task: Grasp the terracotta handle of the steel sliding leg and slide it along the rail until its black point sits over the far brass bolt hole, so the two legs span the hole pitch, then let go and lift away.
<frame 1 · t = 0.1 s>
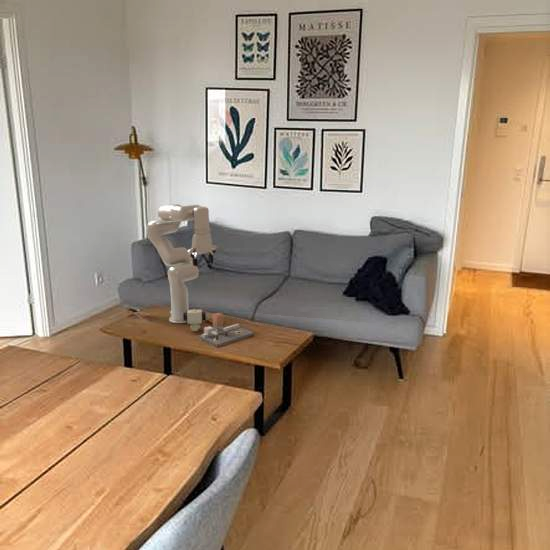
hand: (203, 264, 279), 37 cm above the table, tool pointing down, fingers open, 9 cm apart
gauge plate: (226, 336, 281), on the table
sliding leg: (221, 324, 279), point 7 cm above the table, slide at 0.0 cm
pneumatic valve: (195, 330, 291), on the table
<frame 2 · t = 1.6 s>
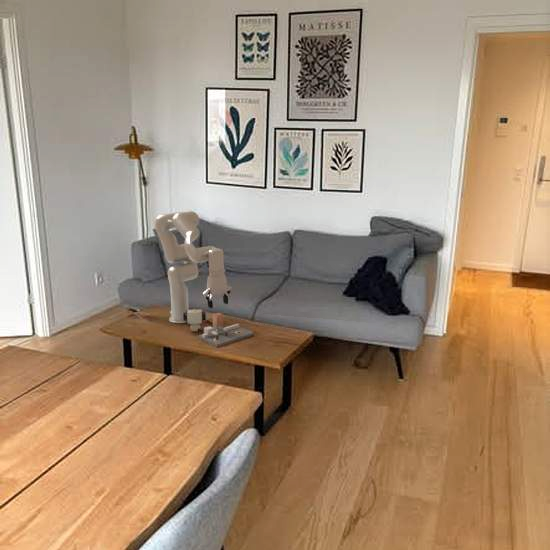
hand: (218, 305, 278), 17 cm above the table, tool pointing down, fingers open, 9 cm apart
nothing on the table moved.
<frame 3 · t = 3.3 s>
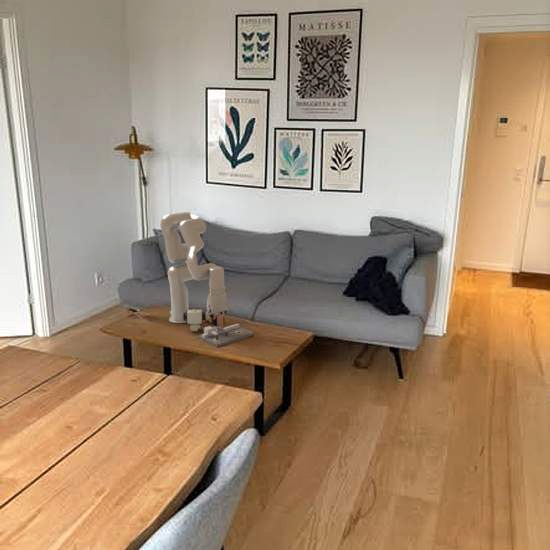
hand: (218, 324, 281), 6 cm above the table, tool pointing down, fingers closed on sliding leg, 4 cm apart
sliding leg: (221, 324, 279), point 7 cm above the table, slide at 0.0 cm, touching gripper
everything else where it was.
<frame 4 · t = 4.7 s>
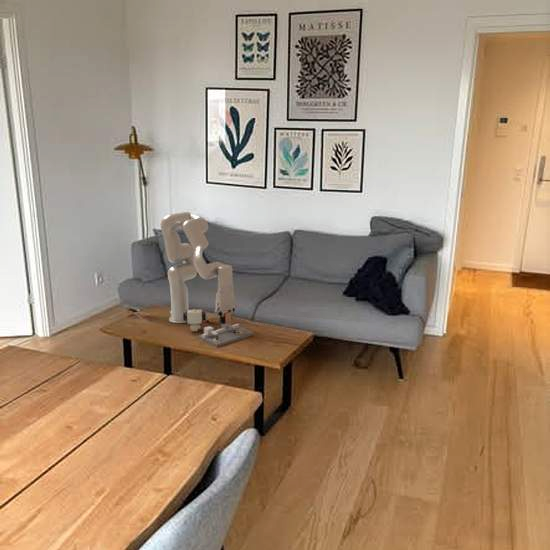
hand: (226, 321, 285), 6 cm above the table, tool pointing down, fingers closed on sliding leg, 4 cm apart
sliding leg: (229, 322, 282), point 7 cm above the table, slide at 5.4 cm, touching gripper
everything else where it was.
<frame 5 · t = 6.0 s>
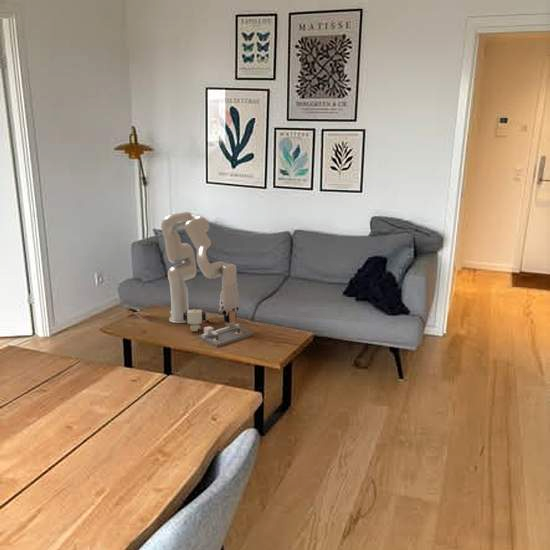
hand: (230, 320, 286), 6 cm above the table, tool pointing down, fingers closed on sliding leg, 4 cm apart
sliding leg: (233, 320, 284), point 7 cm above the table, slide at 8.0 cm, touching gripper
everything else where it was.
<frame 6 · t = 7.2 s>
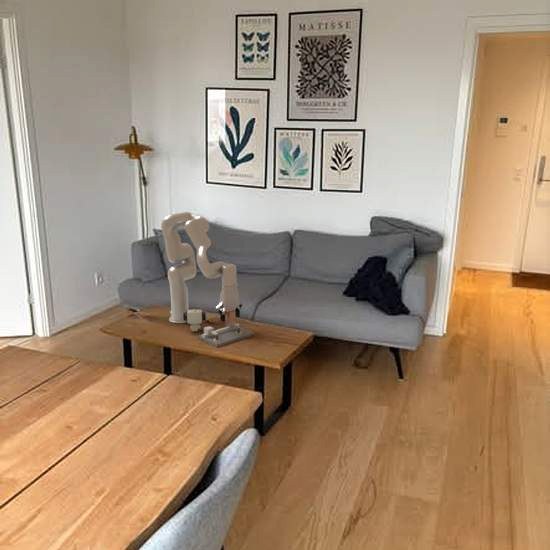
hand: (230, 318, 286), 7 cm above the table, tool pointing down, fingers open, 9 cm apart
sliding leg: (233, 320, 284), point 7 cm above the table, slide at 8.0 cm
everything else where it was.
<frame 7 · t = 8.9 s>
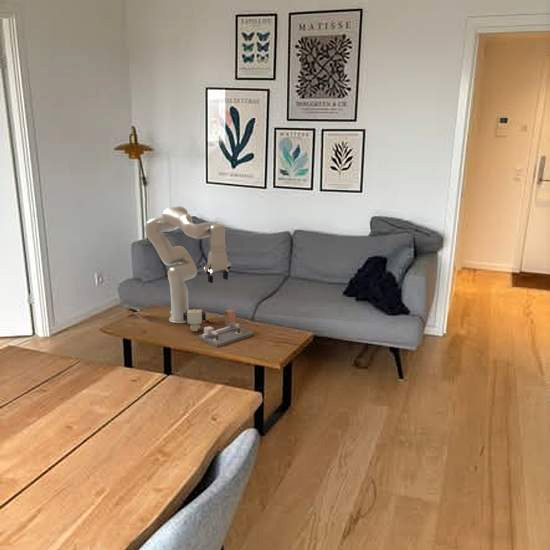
hand: (218, 280, 283), 27 cm above the table, tool pointing down, fingers open, 9 cm apart
nothing on the table moved.
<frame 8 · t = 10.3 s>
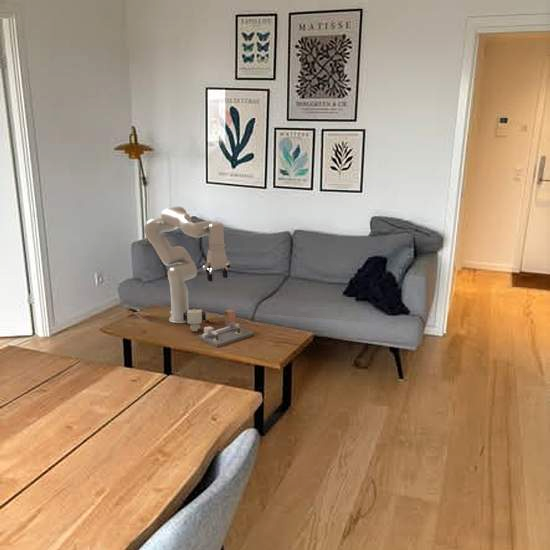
hand: (217, 279, 283), 28 cm above the table, tool pointing down, fingers open, 9 cm apart
nothing on the table moved.
at the end: sliding leg slide at 8.0 cm; the gripper is holding nothing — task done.
